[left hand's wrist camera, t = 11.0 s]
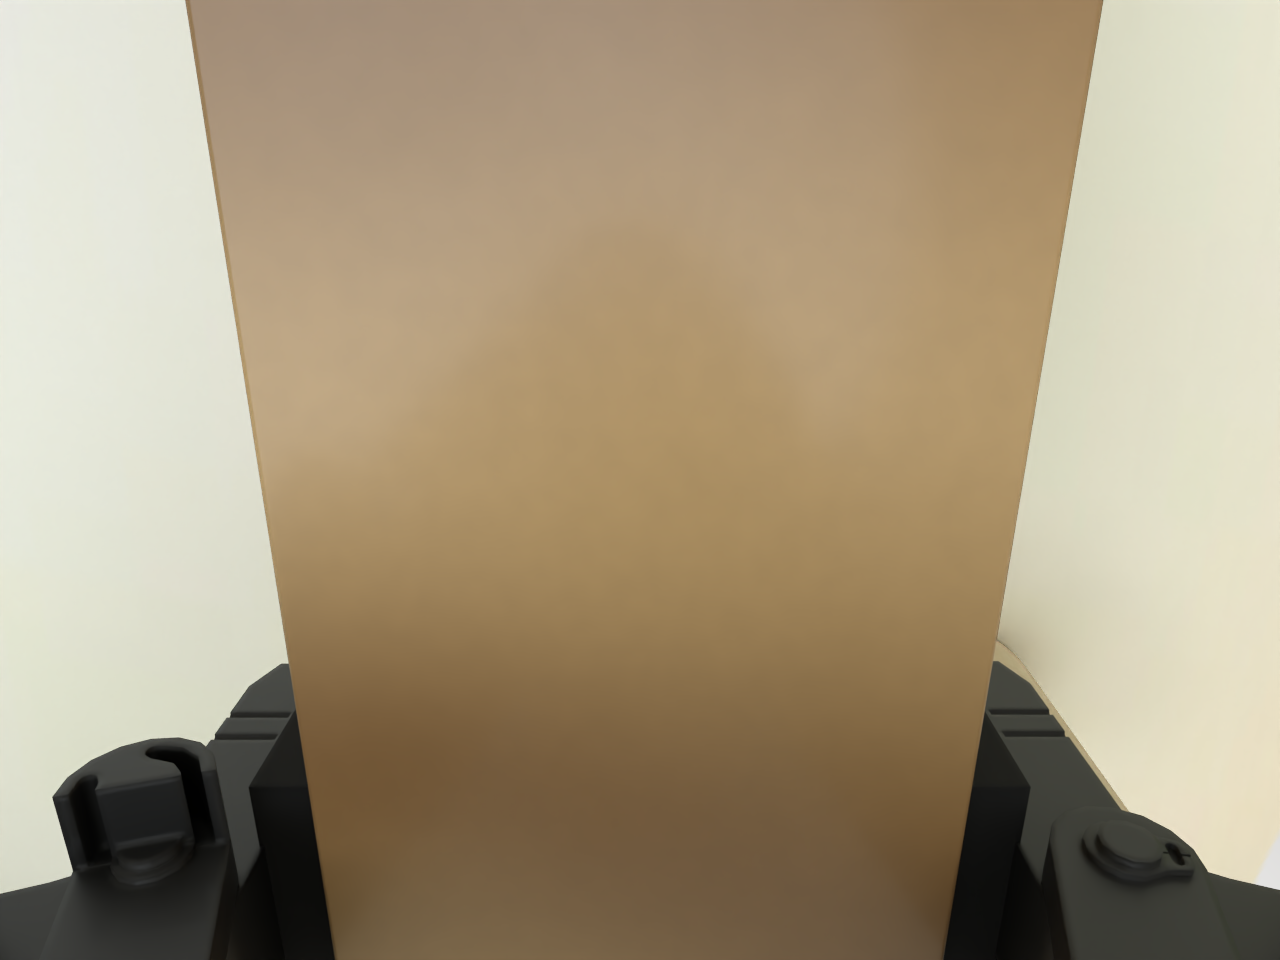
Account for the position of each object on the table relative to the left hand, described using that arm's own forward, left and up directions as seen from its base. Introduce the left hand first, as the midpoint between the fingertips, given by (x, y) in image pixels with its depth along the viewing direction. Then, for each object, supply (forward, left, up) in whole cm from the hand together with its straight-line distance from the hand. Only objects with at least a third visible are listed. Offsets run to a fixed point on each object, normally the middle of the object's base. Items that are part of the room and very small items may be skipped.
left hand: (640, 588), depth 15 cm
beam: (+19, -14, -1) cm, 23 cm away
